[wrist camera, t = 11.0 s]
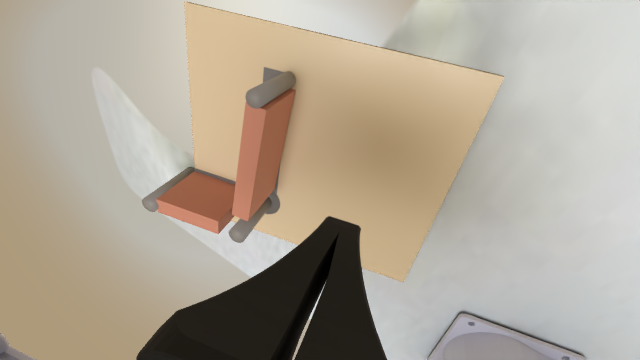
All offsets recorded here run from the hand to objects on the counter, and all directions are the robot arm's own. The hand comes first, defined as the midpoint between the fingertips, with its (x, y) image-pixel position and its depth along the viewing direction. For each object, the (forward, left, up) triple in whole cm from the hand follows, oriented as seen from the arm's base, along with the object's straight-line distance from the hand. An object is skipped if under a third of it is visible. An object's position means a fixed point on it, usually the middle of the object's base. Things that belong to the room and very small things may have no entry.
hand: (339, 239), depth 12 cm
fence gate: (+7, +1, -9) cm, 11 cm away
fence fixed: (+11, +7, -9) cm, 16 cm away
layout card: (+4, +2, -10) cm, 11 cm away
